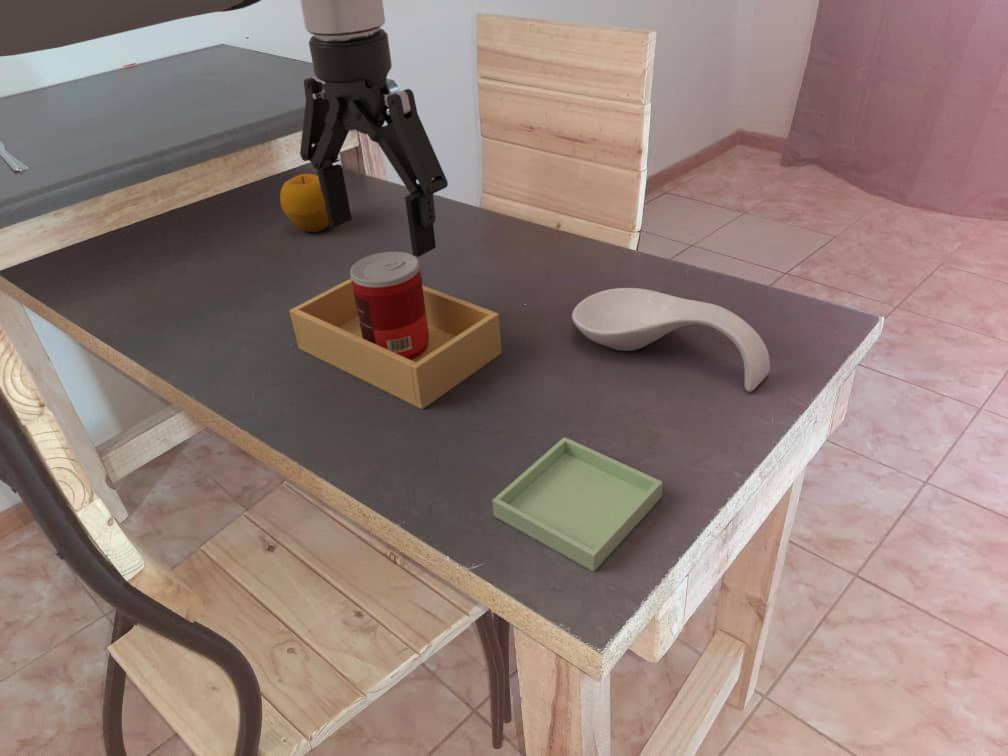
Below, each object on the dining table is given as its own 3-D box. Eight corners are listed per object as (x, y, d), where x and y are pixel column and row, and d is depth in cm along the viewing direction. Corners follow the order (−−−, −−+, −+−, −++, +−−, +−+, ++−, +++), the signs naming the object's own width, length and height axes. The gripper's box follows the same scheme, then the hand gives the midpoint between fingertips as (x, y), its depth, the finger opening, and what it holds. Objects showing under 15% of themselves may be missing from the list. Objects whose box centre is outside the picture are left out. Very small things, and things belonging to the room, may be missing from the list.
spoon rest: (554, 344, 94) (552, 292, 90) (606, 303, 101) (607, 253, 97) (738, 411, 81) (747, 354, 77) (783, 359, 88) (793, 304, 84)
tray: (593, 572, 65) (594, 555, 63) (493, 516, 71) (491, 500, 69) (661, 497, 71) (662, 481, 70) (564, 452, 77) (564, 436, 76)
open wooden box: (501, 353, 93) (499, 313, 90) (422, 409, 84) (416, 368, 81) (379, 303, 105) (372, 266, 101) (298, 348, 96) (288, 310, 93)
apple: (288, 221, 130) (277, 170, 125) (340, 215, 131) (330, 163, 126) (286, 242, 123) (273, 189, 118) (340, 235, 124) (329, 182, 119)
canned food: (442, 339, 95) (432, 258, 89) (402, 372, 90) (388, 288, 83) (393, 324, 99) (381, 245, 92) (352, 355, 93) (335, 273, 87)
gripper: (470, 35, 69) (487, 251, 82) (297, 14, 83) (334, 201, 95) (411, 53, 65) (438, 279, 77) (237, 28, 78) (284, 223, 91)
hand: (380, 237), depth 86 cm, fingers open, 13 cm apart
